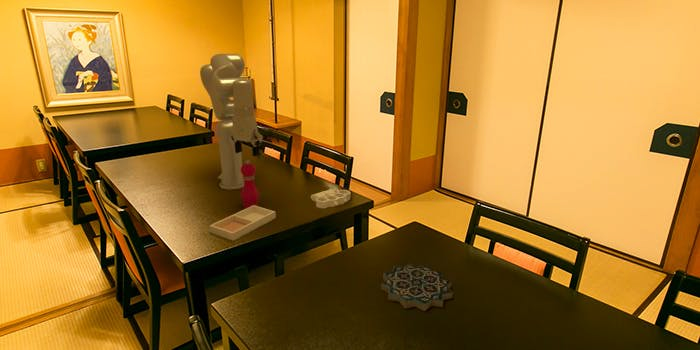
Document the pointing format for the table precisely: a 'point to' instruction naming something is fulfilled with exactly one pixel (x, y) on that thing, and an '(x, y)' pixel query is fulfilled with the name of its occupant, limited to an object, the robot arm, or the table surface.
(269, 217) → the cell tray
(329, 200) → the knuckle duster
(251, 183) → the pepper mill
